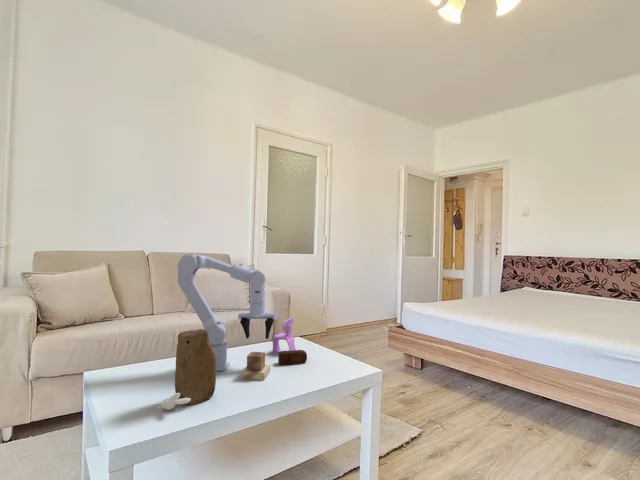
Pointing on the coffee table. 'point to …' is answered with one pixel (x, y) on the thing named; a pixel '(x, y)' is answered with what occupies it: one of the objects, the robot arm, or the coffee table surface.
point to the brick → (292, 357)
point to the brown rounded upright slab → (195, 366)
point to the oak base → (255, 373)
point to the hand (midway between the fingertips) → (257, 338)
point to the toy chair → (284, 336)
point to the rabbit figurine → (173, 402)
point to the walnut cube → (256, 361)
